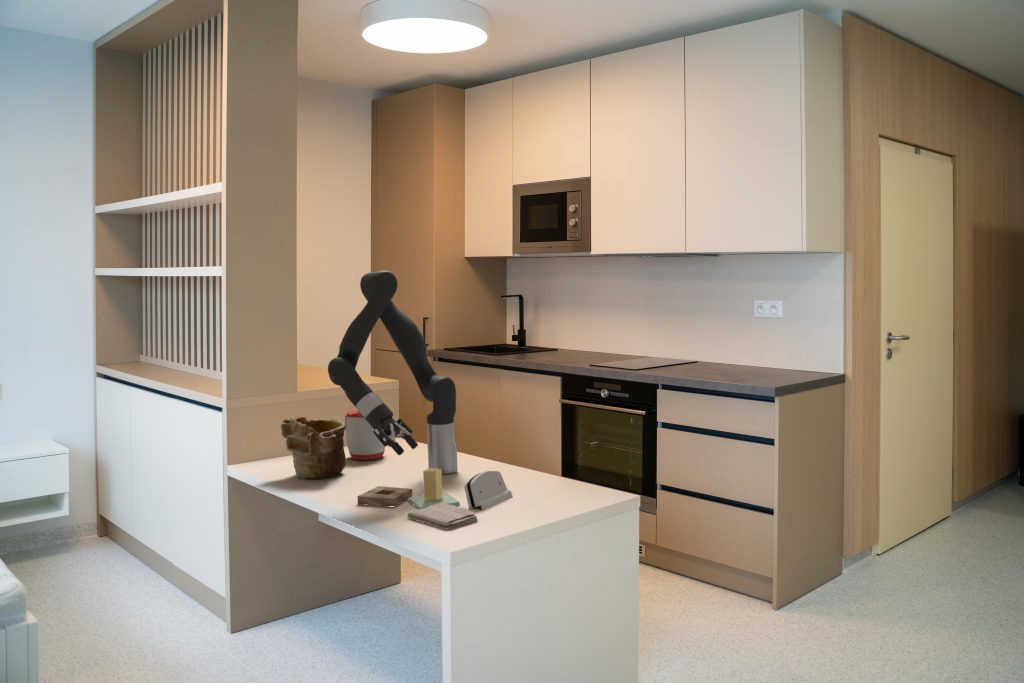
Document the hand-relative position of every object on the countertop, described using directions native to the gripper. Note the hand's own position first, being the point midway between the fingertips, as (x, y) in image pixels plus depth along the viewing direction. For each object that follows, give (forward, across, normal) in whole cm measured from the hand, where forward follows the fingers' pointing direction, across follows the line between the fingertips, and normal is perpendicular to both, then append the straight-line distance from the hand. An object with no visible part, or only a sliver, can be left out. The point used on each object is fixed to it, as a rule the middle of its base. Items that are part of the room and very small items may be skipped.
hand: (409, 450), depth 246 cm
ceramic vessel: (-20, +20, +44) cm, 52 cm away
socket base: (+6, -2, +16) cm, 17 cm away
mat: (+16, 0, +5) cm, 17 cm away
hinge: (+27, +6, -5) cm, 28 cm away
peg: (+16, 0, +5) cm, 16 cm away
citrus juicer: (-21, +49, +45) cm, 69 cm away
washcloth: (+24, -14, -2) cm, 28 cm away
